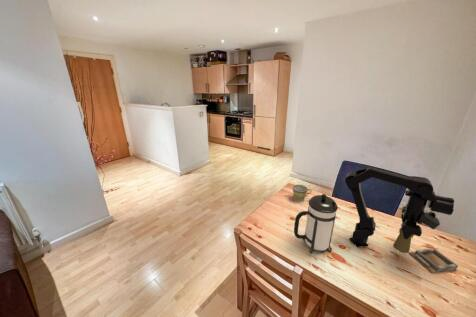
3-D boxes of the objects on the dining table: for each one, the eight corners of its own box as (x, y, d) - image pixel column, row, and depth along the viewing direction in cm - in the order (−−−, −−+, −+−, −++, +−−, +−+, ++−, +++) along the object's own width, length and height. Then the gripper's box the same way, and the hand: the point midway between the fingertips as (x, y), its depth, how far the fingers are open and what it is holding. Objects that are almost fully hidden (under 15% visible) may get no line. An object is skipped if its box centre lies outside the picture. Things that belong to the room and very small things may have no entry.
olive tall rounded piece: (412, 254, 90) (419, 234, 86) (397, 252, 91) (403, 232, 87) (404, 244, 95) (411, 225, 91) (390, 242, 96) (396, 224, 93)
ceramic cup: (292, 203, 139) (293, 190, 136) (290, 195, 148) (292, 184, 145) (311, 204, 137) (313, 192, 133) (309, 197, 146) (310, 185, 143)
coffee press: (307, 229, 113) (314, 183, 103) (336, 244, 103) (347, 194, 92) (291, 246, 102) (296, 195, 92) (322, 264, 91) (332, 209, 81)
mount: (431, 273, 86) (433, 268, 85) (408, 253, 97) (410, 249, 96) (455, 270, 88) (458, 265, 87) (430, 251, 98) (432, 246, 97)
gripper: (445, 225, 73) (431, 257, 79) (438, 202, 87) (427, 231, 93) (406, 214, 80) (396, 244, 85) (406, 194, 94) (397, 222, 99)
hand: (405, 235), depth 90 cm, fingers closed on olive tall rounded piece, 5 cm apart
